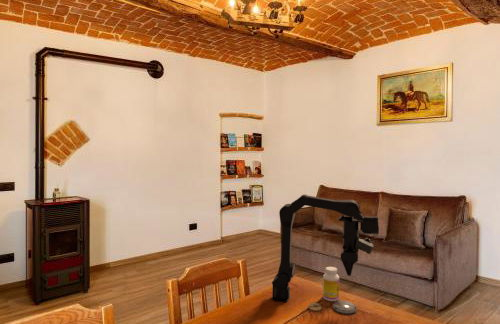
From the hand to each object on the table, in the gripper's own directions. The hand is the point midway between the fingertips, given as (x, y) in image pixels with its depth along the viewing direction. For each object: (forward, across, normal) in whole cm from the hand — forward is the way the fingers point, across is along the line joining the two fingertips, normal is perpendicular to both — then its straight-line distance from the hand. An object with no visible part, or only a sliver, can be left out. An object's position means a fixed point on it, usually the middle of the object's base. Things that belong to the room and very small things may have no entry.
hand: (349, 271), depth 139 cm
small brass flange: (+15, -4, +13) cm, 20 cm away
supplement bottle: (+15, +7, +8) cm, 18 cm away
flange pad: (+15, -1, +2) cm, 15 cm away
